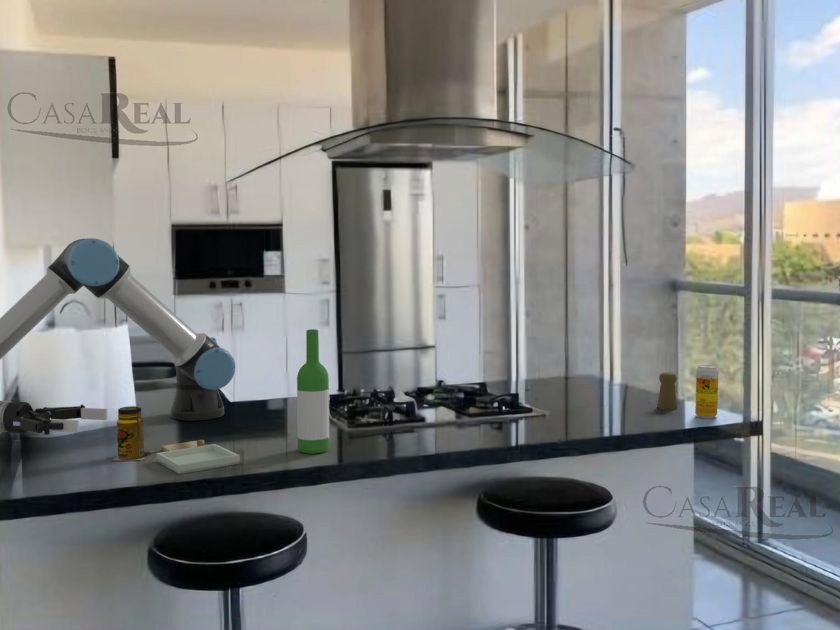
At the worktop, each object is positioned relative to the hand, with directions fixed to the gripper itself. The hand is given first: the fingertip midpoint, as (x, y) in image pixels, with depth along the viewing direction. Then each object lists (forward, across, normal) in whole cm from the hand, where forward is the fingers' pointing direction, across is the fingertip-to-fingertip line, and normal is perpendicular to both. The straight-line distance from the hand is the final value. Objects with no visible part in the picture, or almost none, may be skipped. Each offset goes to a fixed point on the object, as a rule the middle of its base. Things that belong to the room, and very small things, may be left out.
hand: (92, 420), depth 203 cm
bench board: (+20, -7, -8) cm, 23 cm away
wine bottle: (+52, -11, -8) cm, 53 cm away
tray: (+28, +3, -8) cm, 29 cm away
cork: (+147, -77, -7) cm, 166 cm away
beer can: (+156, -64, -7) cm, 169 cm away
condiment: (+10, 0, -9) cm, 13 cm away
